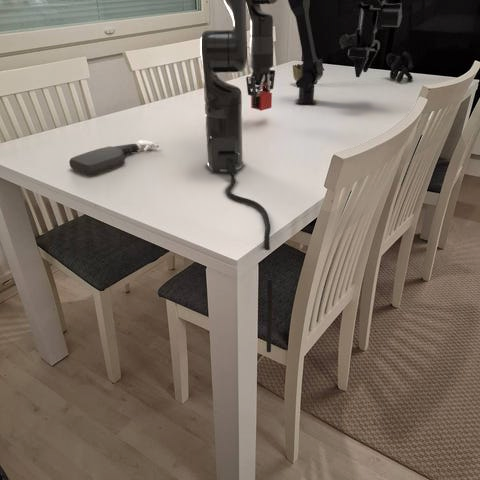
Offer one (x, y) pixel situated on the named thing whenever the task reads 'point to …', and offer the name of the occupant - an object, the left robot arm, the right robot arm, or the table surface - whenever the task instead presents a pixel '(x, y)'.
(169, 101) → the table surface
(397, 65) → the squiggle
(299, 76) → the cup
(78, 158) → the spray bottle
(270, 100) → the block
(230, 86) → the left robot arm
